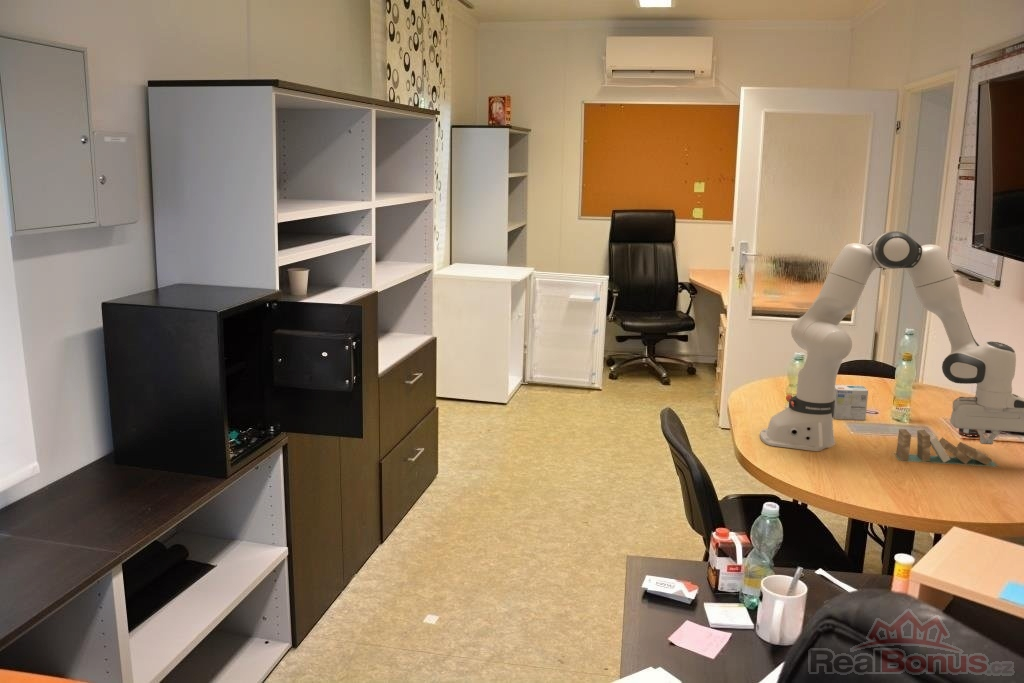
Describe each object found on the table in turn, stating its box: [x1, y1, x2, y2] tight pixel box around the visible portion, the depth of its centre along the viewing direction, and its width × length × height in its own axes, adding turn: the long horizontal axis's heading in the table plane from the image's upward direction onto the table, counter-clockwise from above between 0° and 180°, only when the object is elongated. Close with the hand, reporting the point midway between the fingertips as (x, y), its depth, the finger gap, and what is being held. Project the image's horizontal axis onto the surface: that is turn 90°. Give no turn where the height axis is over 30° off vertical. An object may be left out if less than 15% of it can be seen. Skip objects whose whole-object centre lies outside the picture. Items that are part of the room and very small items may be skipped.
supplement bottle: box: [958, 428, 979, 436], centre depth 261 cm, size 6×6×11 cm
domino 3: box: [927, 431, 950, 462], centre depth 238 cm, size 2×5×8 cm
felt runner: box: [893, 452, 999, 468], centre depth 239 cm, size 27×6×1 cm, turn 80°
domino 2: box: [916, 429, 931, 463], centre depth 239 cm, size 2×5×8 cm, turn 170°
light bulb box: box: [833, 384, 869, 421], centre depth 278 cm, size 11×7×11 cm, turn 84°
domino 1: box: [895, 428, 912, 462], centre depth 240 cm, size 2×5×8 cm, turn 170°
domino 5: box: [956, 441, 993, 465], centre depth 237 cm, size 2×5×8 cm
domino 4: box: [938, 437, 971, 464], centre depth 238 cm, size 2×5×8 cm
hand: (986, 443), depth 236 cm, fingers closed
